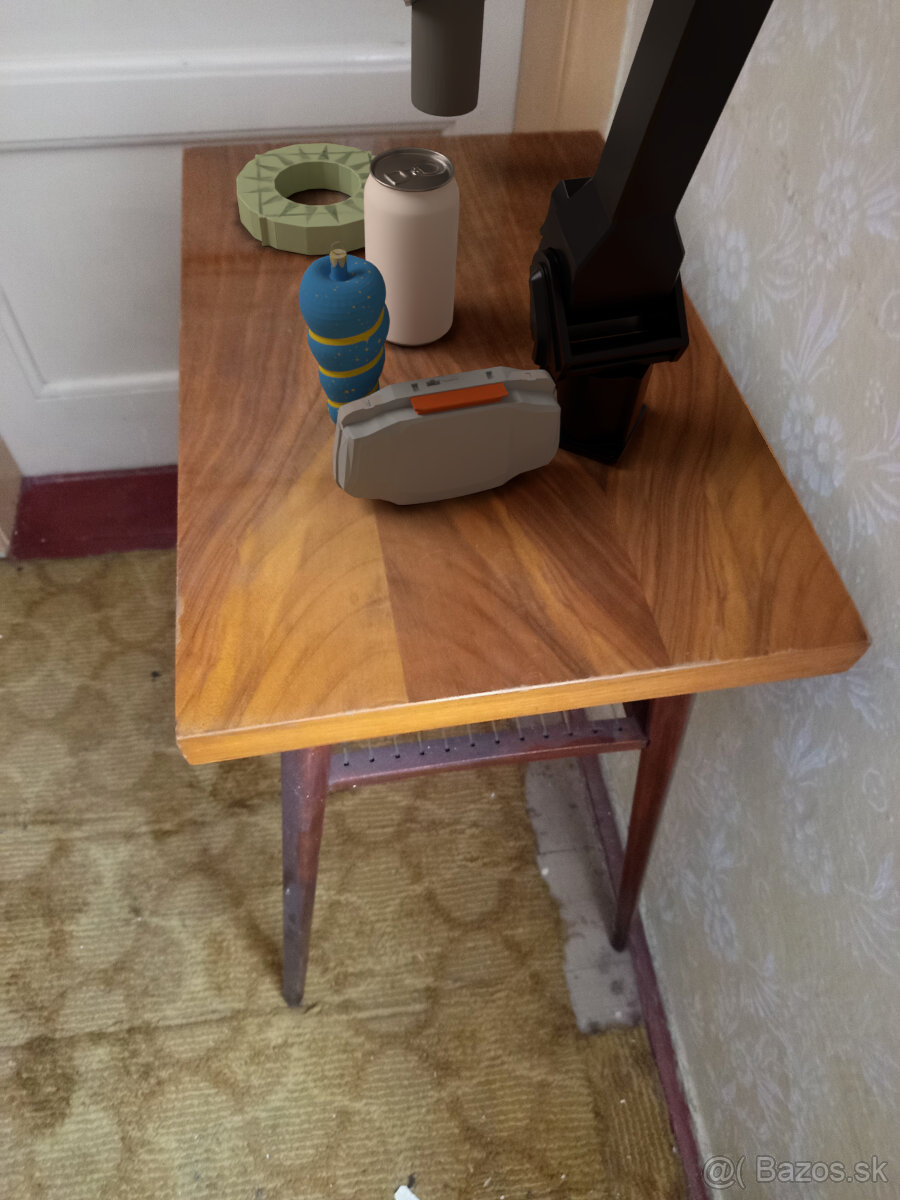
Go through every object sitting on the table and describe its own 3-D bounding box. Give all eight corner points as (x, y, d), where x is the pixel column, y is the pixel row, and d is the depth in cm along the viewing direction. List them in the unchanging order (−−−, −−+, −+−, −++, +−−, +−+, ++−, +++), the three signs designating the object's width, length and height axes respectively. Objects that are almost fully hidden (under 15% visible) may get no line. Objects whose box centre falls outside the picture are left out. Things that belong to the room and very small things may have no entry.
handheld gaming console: (542, 450, 62) (559, 353, 55) (558, 480, 60) (577, 384, 54) (332, 488, 59) (324, 390, 52) (342, 521, 57) (335, 424, 51)
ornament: (396, 472, 60) (395, 267, 48) (316, 479, 59) (296, 272, 47) (386, 419, 63) (383, 214, 51) (310, 425, 62) (290, 218, 50)
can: (469, 331, 69) (480, 177, 60) (396, 359, 67) (396, 203, 57) (422, 288, 72) (426, 134, 63) (351, 313, 70) (344, 158, 60)
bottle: (472, 121, 77) (485, -94, 66) (404, 112, 78) (405, -102, 66) (482, 91, 81) (497, -117, 69) (418, 83, 81) (421, -126, 70)
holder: (387, 168, 83) (387, 140, 81) (406, 251, 75) (406, 222, 73) (239, 173, 81) (235, 145, 80) (242, 258, 74) (237, 229, 72)
